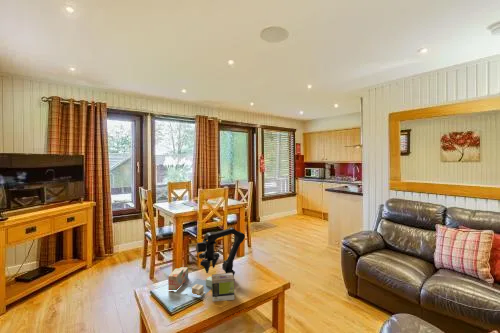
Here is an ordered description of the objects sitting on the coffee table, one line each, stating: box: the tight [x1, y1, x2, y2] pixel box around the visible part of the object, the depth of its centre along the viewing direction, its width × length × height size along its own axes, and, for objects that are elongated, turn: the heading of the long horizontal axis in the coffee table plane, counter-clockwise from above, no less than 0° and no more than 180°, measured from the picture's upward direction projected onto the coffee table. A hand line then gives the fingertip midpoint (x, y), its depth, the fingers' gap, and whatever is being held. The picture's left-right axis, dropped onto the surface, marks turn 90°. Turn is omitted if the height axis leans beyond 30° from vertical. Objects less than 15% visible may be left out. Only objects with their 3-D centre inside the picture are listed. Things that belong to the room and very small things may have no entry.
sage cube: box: [205, 276, 212, 287], centre depth 186 cm, size 5×5×5 cm
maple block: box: [192, 284, 204, 295], centre depth 174 cm, size 6×6×5 cm
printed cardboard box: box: [167, 266, 189, 291], centre depth 186 cm, size 21×6×12 cm, turn 171°
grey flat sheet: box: [188, 278, 212, 298], centre depth 181 cm, size 18×23×1 cm
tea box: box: [211, 272, 235, 302], centre depth 170 cm, size 15×10×15 cm, turn 100°
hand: (210, 270), depth 185 cm, fingers open, 9 cm apart
